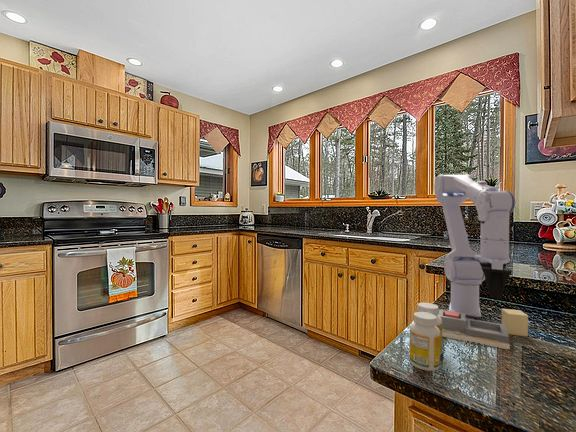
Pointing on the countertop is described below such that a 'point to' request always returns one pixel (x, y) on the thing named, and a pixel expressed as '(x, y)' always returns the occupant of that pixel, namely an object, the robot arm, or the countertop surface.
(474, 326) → the panel
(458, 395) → the countertop surface
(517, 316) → the tan block
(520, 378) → the countertop surface
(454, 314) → the plunger
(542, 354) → the countertop surface
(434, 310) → the supplement bottle
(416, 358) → the supplement bottle
